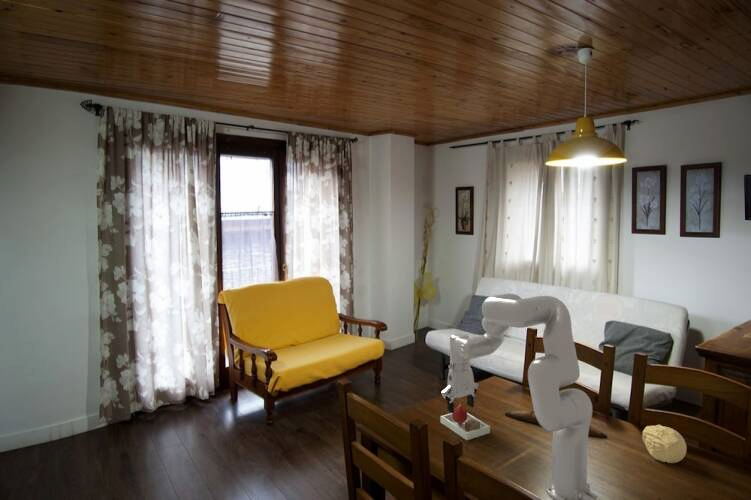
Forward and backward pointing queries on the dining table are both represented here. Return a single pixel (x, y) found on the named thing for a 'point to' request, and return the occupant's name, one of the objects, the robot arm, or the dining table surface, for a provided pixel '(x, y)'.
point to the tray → (460, 429)
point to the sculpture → (664, 443)
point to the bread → (532, 418)
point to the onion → (459, 415)
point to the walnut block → (471, 425)
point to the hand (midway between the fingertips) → (460, 408)
